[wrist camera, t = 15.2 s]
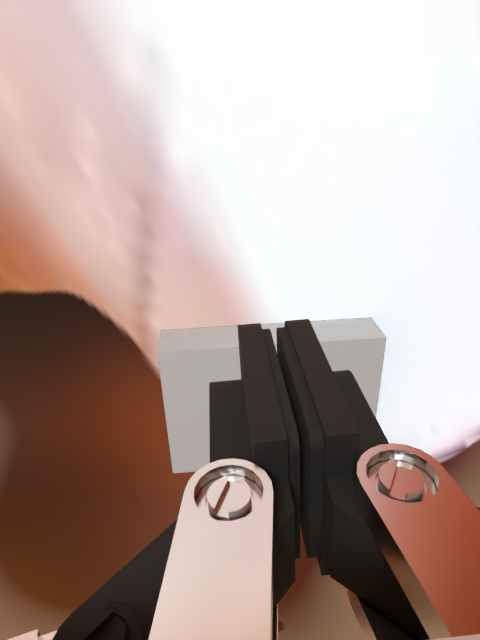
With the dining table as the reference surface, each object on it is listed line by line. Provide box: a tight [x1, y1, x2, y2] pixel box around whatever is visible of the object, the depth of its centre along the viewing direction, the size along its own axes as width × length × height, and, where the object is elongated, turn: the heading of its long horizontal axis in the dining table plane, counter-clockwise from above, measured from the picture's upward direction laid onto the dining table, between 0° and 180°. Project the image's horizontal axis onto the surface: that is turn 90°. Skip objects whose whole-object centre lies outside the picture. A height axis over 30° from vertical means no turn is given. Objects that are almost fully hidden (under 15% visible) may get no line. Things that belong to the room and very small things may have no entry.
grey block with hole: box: [157, 318, 386, 473], centre depth 44 cm, size 20×14×4 cm
